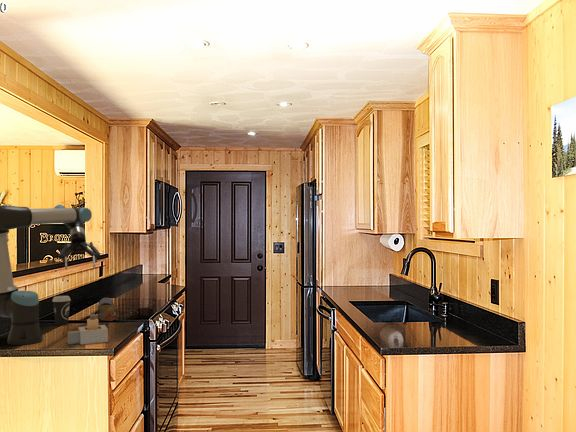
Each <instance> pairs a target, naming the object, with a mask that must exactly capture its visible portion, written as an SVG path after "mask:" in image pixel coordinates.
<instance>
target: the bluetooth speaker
mask: <svg viewBox="0 0 576 432" xmlns="http://www.w3.org/2000/svg"><path fill="white" fill-rule="evenodd" d="M101 305H108V306H115V303H114V301H113V299H112V298H110V297H107V296H106V297H103V298H101V299H100V300H99V301H98V304H97V311H98V312H99V309H98V308H99V307H100V306H101Z"/></svg>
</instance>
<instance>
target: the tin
mask: <svg viewBox="0 0 576 432" xmlns="http://www.w3.org/2000/svg"><path fill="white" fill-rule="evenodd" d="M98 309H99V312H98ZM96 312H97V317H98V320H101V321H108V322H114V321H116V320H118V319H119V317H120V310H119V308H118V307H117V306H115V305H114V306H108V305H101V306H100V307H99V308H98V307H97V311H96ZM113 320H114V321H113Z"/></svg>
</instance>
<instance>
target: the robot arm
mask: <svg viewBox="0 0 576 432" xmlns="http://www.w3.org/2000/svg"><path fill="white" fill-rule="evenodd" d="M90 220H92V211H91V209H90V208H89V207H83V206H82V207H66V206H64V205H62V204H57V205H55V206H54V207H53V208H52V207H49V208H48V207H47V208H30V207H29V206H18V205H17V206H14V205H9V204H8V205H6V204H5V205H4V204H1V205H0V318H8V319H10V320H11V326H10V329H9V330H10V331H9V332H8V336H7V344H8V345H10V344H11V346H23V345H24V346H25V345H32V344H37V343H40V342H43V340H44V335H43V332H42V329H41V326H40V319H39V318H40V315H39V313H40V312H39V311H40V310H39V309H40V304H39V303H40V300H39V299H40V298H39V294H38V293H37V292H36V291H32V290H19V288H18V286H17V285H15V284H14V277H13V271H12V265H11V257H10V251H9V243H8V238H7V236H8V234H9V233H10V230H13V229H20V228H28V227H30V226H32V225H49V224H64V225H65V226H66V227H67V228H69V235H70V243H68V242H65V243H64V246H63V248H62V249H61V251H60V252H59V253H58V259H59V260H62V265H64V269H65V271H66V270H68V257H70V255H71V254H72V253H74V252H84V253H87V254H88V256H91V257H92V264H93V265H92V266H93V269H96V263H97V262H98V259H99V258H101V252H100V251H98V249H97V248H96V247H95V245H94V244H93V242H92V241H90V242H89V243H88V242H87V237H86V229H85V223H88V222H89V221H90ZM67 249H68V250H67Z"/></svg>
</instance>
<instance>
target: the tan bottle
mask: <svg viewBox="0 0 576 432" xmlns="http://www.w3.org/2000/svg"><path fill="white" fill-rule="evenodd" d="M98 325H99V318H96V314H95V313H89V318H88V319H87V320H86V326H87V330H93V329H98Z"/></svg>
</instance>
